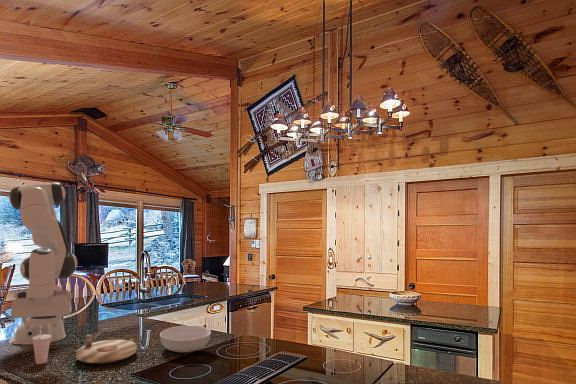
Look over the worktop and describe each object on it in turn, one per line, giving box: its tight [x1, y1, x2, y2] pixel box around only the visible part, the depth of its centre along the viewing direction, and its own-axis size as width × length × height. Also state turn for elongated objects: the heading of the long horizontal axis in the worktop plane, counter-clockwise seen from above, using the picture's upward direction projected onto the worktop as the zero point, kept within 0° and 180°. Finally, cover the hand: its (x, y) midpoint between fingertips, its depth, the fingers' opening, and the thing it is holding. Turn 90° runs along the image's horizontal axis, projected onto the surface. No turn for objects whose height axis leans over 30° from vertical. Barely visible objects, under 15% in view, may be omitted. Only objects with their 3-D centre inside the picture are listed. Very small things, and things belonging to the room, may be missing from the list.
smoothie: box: [32, 325, 51, 365], centre depth 164 cm, size 6×6×14 cm
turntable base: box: [85, 358, 127, 366], centre depth 169 cm, size 16×16×2 cm
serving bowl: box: [159, 325, 212, 353], centre depth 180 cm, size 21×21×7 cm
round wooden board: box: [75, 334, 138, 364], centre depth 169 cm, size 22×22×6 cm
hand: (42, 327), depth 163 cm, fingers open, 8 cm apart
